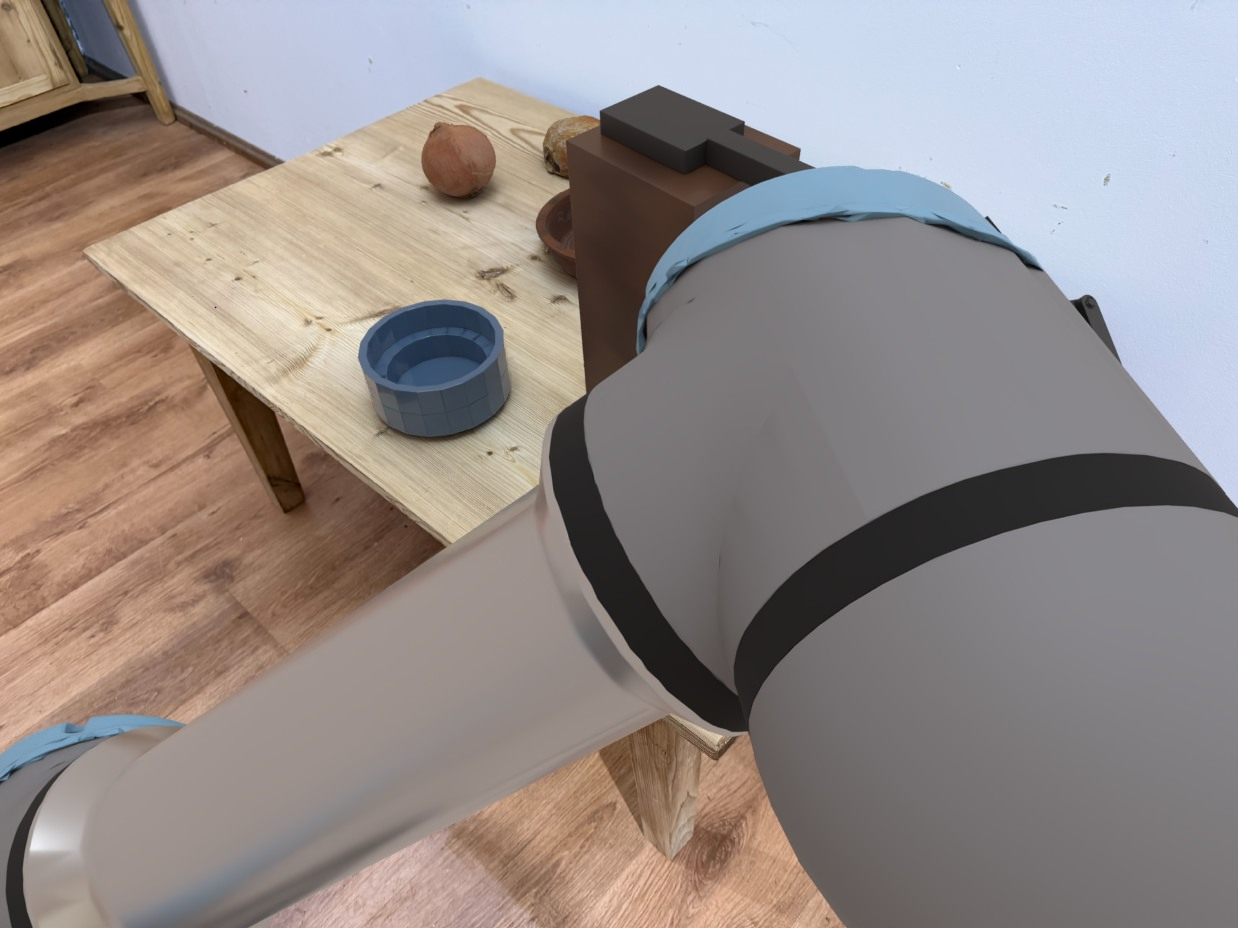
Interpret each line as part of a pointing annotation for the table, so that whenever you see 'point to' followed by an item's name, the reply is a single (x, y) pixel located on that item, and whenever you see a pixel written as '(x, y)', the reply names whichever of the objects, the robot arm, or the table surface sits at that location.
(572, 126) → the bread roll
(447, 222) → the table surface
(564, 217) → the dish
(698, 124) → the stepped dark block
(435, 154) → the onion
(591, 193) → the stand
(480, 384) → the bowl
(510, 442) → the table surface
